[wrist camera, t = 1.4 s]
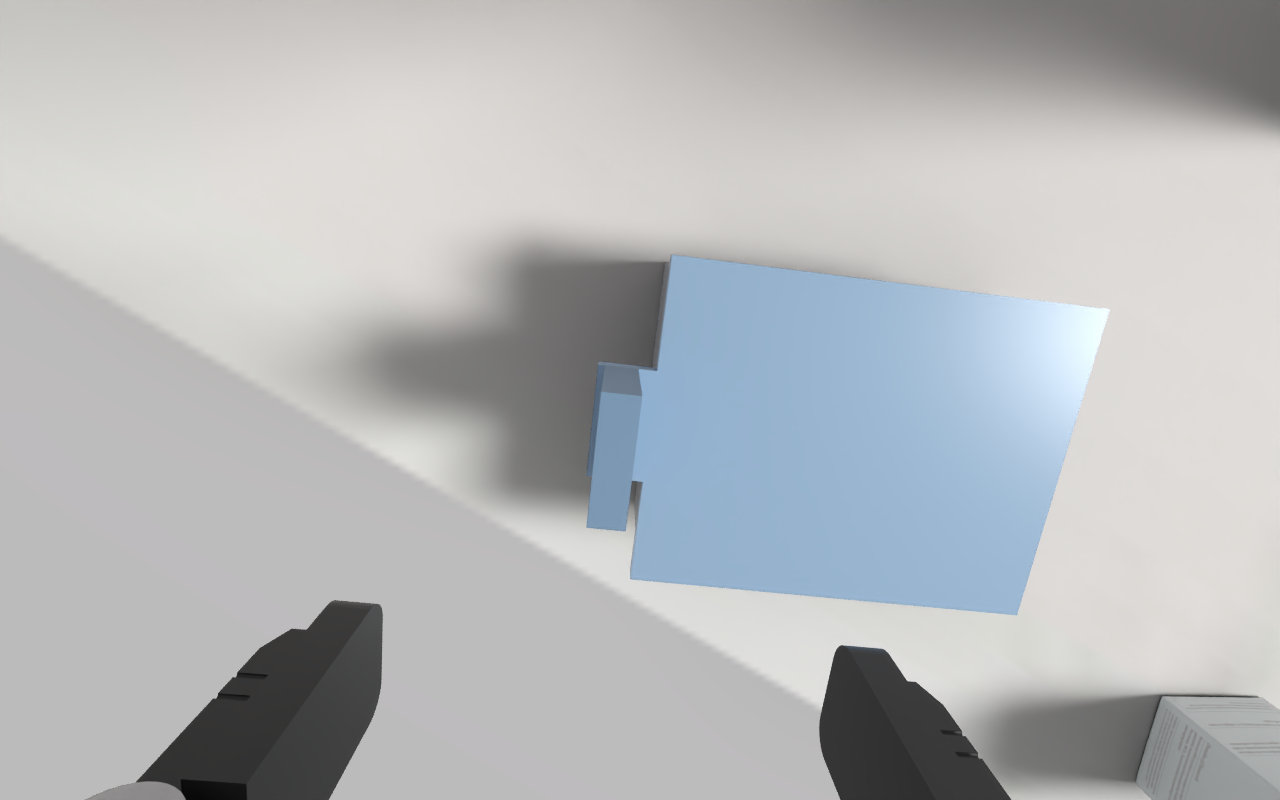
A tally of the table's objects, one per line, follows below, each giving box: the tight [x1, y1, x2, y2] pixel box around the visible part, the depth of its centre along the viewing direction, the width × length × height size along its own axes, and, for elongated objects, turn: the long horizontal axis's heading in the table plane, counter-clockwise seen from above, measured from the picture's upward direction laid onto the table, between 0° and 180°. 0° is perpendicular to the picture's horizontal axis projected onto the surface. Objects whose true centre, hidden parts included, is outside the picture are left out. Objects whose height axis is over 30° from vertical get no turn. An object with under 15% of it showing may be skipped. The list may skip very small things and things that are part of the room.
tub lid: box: [587, 255, 1110, 615], centre depth 24 cm, size 15×21×7 cm
